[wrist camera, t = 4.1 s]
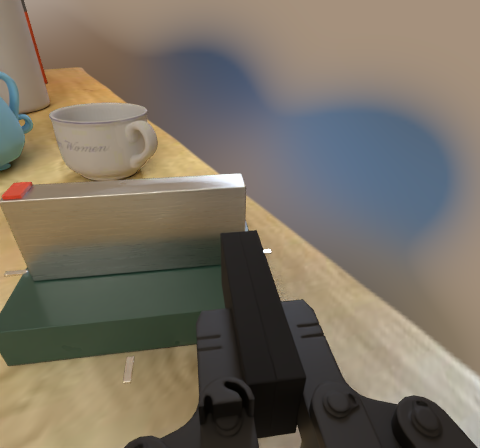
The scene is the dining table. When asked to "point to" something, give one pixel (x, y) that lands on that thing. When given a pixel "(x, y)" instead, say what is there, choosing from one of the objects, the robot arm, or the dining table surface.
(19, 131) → the decorative pot
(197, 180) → the red-tipped metal bar
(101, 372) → the dining table surface
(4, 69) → the cylinder vase
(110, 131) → the teacup
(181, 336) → the green block
